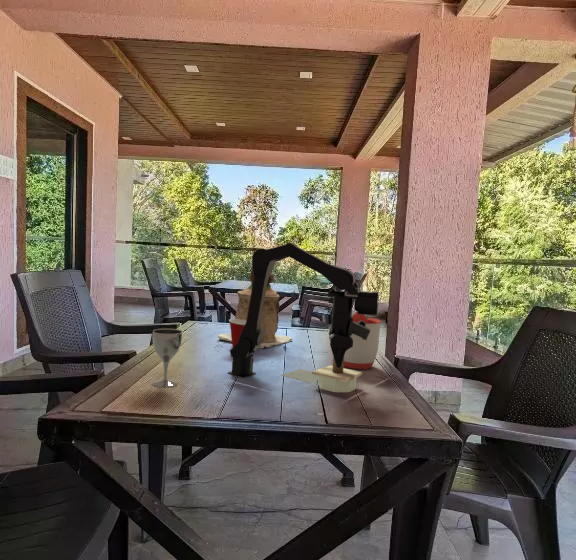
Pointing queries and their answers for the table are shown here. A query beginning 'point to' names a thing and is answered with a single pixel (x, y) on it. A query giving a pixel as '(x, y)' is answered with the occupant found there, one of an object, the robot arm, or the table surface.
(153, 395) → the table surface
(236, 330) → the plastic cup
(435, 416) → the table surface
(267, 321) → the cookie jar
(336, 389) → the bowl
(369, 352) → the citrus juicer
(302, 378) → the mat
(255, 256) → the robot arm
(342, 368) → the lid
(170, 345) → the wine glass
